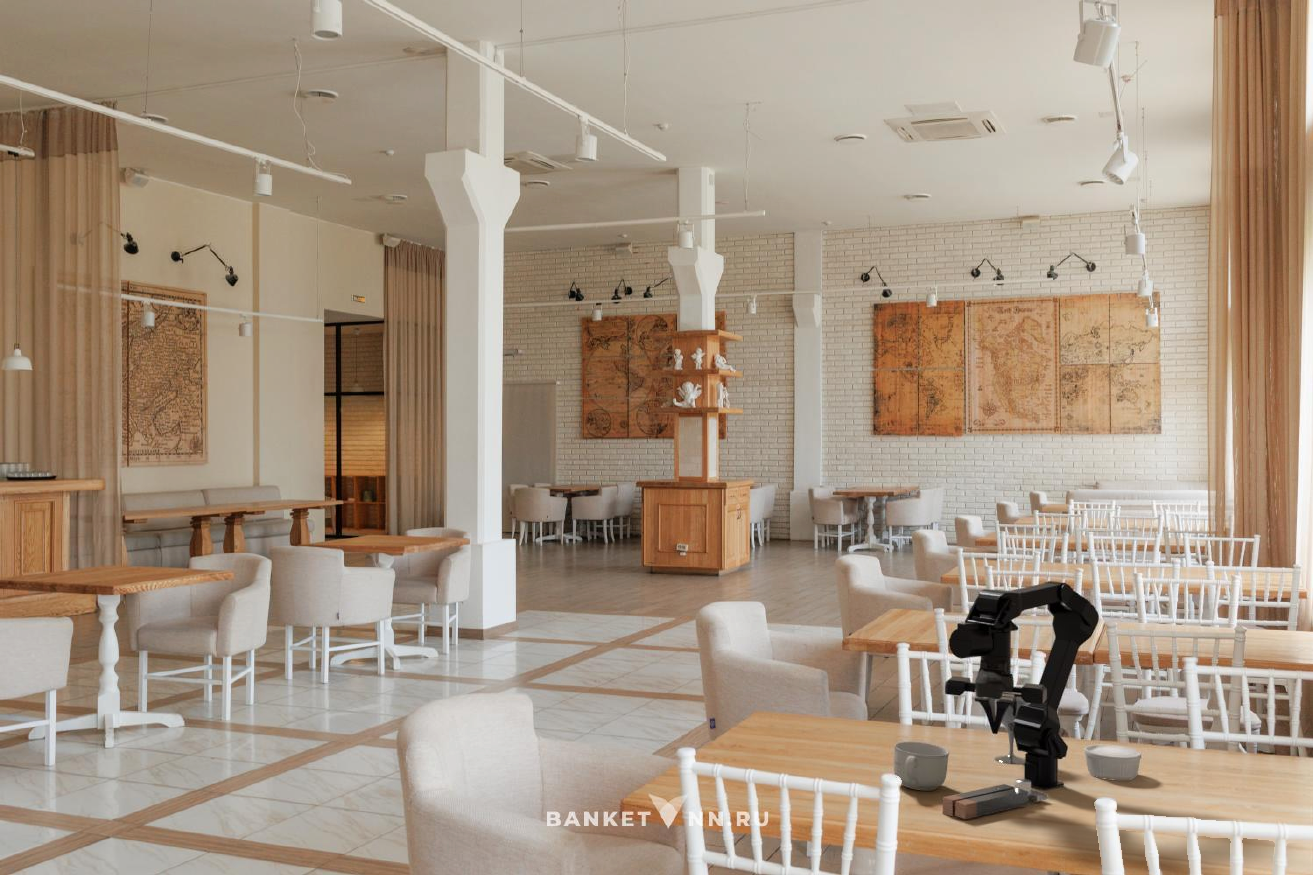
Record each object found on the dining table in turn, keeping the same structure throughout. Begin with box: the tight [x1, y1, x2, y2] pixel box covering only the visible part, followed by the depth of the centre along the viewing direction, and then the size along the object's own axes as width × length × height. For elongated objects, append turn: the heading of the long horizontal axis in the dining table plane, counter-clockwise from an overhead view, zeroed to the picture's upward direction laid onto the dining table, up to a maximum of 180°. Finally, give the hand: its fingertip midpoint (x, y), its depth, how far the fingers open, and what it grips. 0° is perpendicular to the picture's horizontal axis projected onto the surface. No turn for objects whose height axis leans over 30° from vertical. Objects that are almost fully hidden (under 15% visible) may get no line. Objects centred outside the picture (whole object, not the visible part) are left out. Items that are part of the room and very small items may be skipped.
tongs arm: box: [954, 788, 1029, 820], centre depth 215 cm, size 17×2×3 cm, turn 122°
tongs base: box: [942, 778, 1048, 818], centre depth 218 cm, size 23×5×4 cm, turn 123°
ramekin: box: [1083, 744, 1142, 781], centre depth 242 cm, size 11×11×5 cm
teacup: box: [893, 741, 950, 792], centre depth 230 cm, size 14×11×8 cm
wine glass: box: [994, 697, 1030, 765], centre depth 253 cm, size 8×8×15 cm
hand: (995, 733), depth 227 cm, fingers closed
